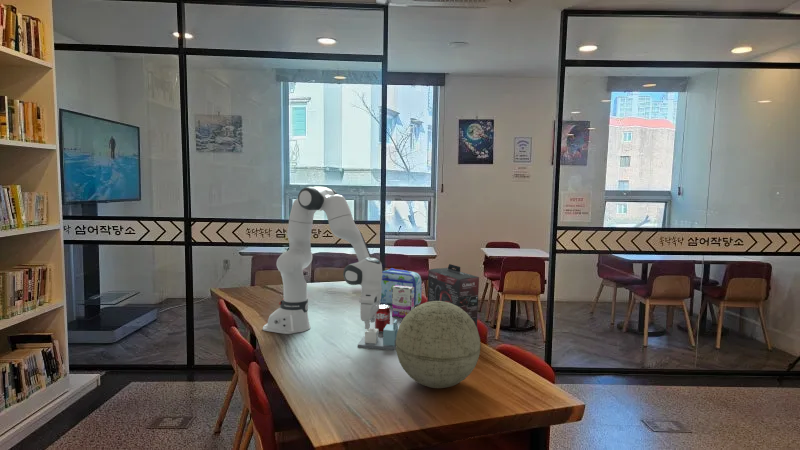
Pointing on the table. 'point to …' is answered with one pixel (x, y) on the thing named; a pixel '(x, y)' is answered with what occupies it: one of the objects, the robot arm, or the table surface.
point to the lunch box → (400, 284)
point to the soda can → (382, 317)
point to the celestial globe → (438, 344)
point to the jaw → (371, 335)
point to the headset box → (454, 289)
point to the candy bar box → (402, 300)
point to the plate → (376, 346)
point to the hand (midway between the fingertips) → (370, 325)
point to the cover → (390, 333)
